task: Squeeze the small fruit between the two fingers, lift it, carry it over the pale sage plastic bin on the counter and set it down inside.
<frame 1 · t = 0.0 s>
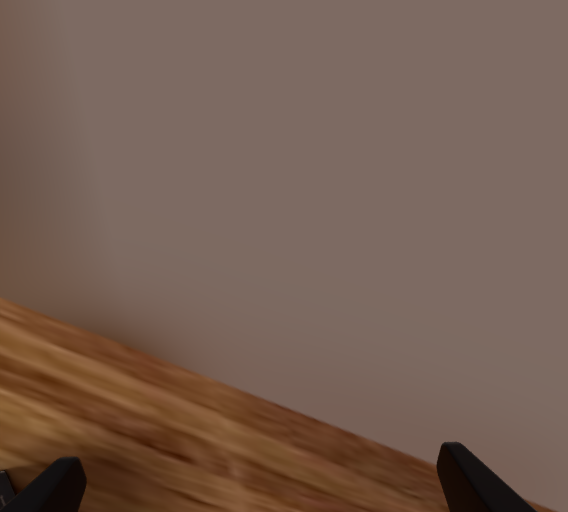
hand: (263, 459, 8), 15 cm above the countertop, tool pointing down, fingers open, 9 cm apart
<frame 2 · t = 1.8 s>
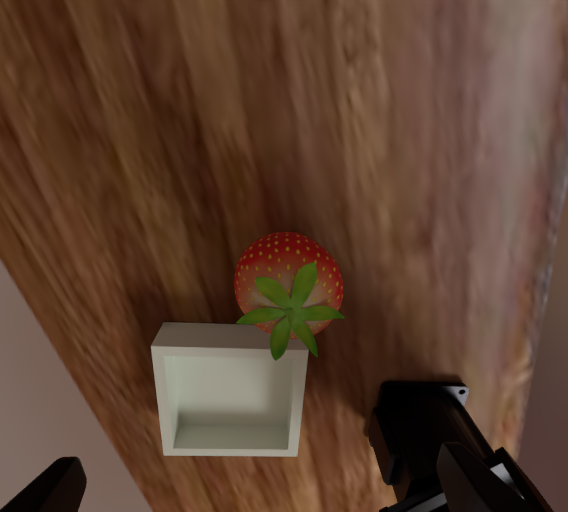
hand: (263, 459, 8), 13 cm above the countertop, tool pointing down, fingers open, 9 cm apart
bin: (234, 378, 24), on the countertop
fruit: (284, 251, 20), on the countertop
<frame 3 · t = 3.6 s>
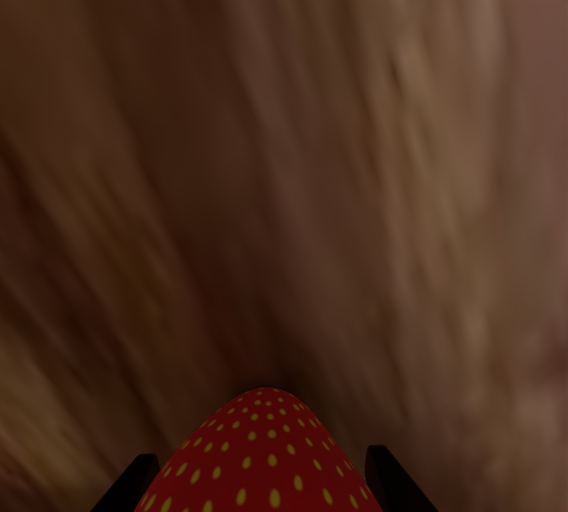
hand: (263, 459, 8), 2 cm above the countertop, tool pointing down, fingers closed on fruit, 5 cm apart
fruit: (263, 401, 10), on the countertop, touching gripper
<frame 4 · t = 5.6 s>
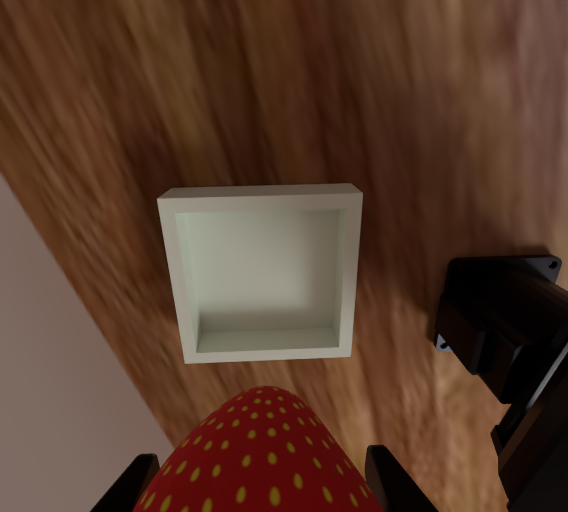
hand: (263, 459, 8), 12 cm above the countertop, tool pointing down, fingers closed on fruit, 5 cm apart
bin: (265, 266, 19), on the countertop
fruit: (263, 400, 10), point 10 cm above the countertop, touching gripper
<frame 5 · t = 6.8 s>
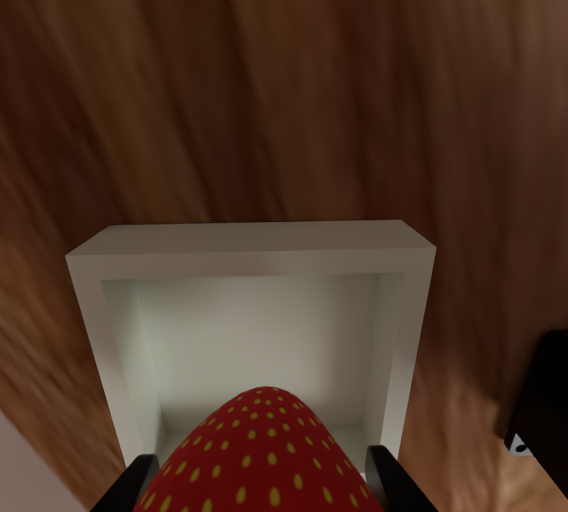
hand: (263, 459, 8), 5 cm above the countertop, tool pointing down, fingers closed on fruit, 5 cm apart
bin: (262, 341, 12), on the countertop
fruit: (263, 400, 10), point 3 cm above the countertop, touching gripper
when the fingers open (4 cm above the countertop, at t = 7.5 s): fruit stays where it is, resting on bin.
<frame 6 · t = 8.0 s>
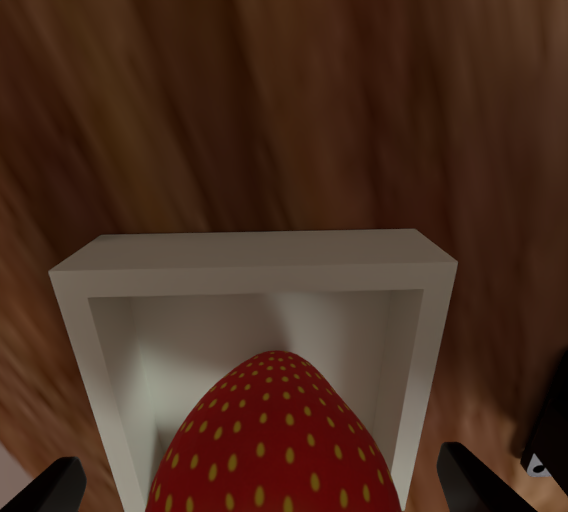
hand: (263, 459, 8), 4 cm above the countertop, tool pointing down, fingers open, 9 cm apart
bin: (265, 357, 12), on the countertop
fruit: (274, 364, 11), resting on bin
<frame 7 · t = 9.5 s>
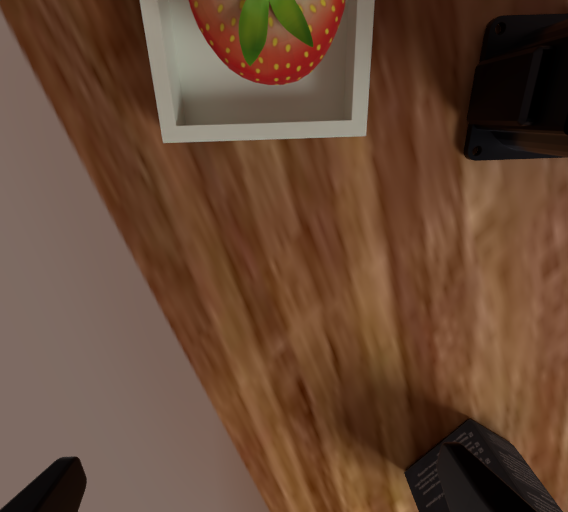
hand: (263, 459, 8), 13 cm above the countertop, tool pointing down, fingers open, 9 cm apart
bin: (261, 31, 16), on the countertop
fruit: (267, 28, 15), resting on bin
box: (455, 454, 28), on the countertop
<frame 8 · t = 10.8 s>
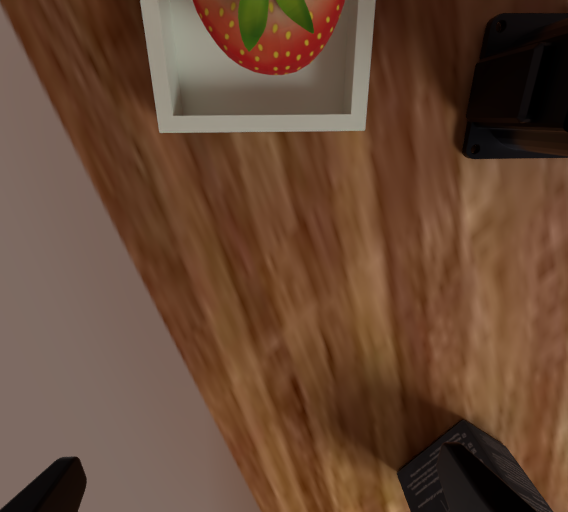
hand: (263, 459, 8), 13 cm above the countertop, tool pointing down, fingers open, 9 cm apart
bin: (261, 23, 15), on the countertop
fruit: (267, 20, 15), resting on bin
box: (448, 455, 28), on the countertop
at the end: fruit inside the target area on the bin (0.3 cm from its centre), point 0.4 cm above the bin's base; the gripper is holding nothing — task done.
